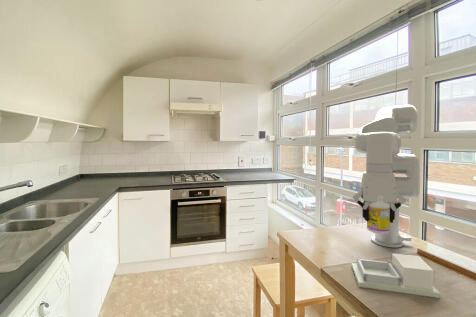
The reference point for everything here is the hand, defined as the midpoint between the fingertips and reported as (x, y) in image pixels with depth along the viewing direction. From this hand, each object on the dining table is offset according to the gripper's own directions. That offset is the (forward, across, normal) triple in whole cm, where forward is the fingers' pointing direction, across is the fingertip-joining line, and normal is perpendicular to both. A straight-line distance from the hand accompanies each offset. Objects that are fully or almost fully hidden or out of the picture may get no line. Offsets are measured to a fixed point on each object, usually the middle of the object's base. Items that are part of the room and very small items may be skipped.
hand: (378, 220), depth 79 cm
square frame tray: (+21, -4, 0) cm, 21 cm away
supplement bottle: (+4, 0, 0) cm, 4 cm away
